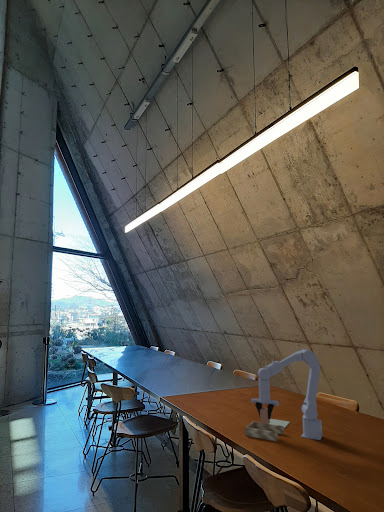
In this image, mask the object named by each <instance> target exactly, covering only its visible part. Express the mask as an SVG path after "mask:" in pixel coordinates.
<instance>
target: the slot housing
mask: <svg viewBox="0 0 384 512" xmlns="http://www.w3.org/2000/svg"><path fill="white" fill-rule="evenodd" d="M284 429H285V428H284V426H280V425H274V424H262V423H260V422H259V421H252V422H250V423H248V424H247V425H246V426H245V427H244V436H245V437H250V438H255V439H256V438H257V439H261V440H268V441H272V442H273V441H274V442H278V441H279V439H278V438H279V436H278V435H284V434H285V430H284Z"/></svg>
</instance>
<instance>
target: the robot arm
mask: <svg viewBox="0 0 384 512" xmlns="http://www.w3.org/2000/svg"><path fill="white" fill-rule="evenodd" d="M295 362H305V365H307V366H308V367H309V371H308V372H309V374H308V379H307V387H306V395H305V398H304V400H303V404H302V405H301V409H300V410H301V412H302V414H303V415H302V432H303V433H302V434H301V436H300V437H301V438H306V439H311V440H317V441H321V440H322V438H323V423H322V422H323V421H322V420H321V419H318V418H317V417H318V415H319V414H318V413H319V412H318V409H317V408H318V407H317V406H318V404H317V395H318V394H317V393H318V389H319V388H318V387H319V381H320V372H321V365H320V362H319V360H318V358H317V355H316V354H315V353H314V351H312V350H309V349H307V348H302V349H300V350H297V351H296V352H293V353H291V354H290V355H288V356H287V357H284V358H283V359H281V361H278V360H272V361H271V363H269V364H268V365H264V366H263V367H260V368H259V369H258V371H257V376H258V398H256V397H255V398H253V397H252V398H251V399H250V403H251V404H254V406H255V408H256V410H257V413H258V416H259V418H260V409H261V408H263V405H267V406H266V408H268V419H272V418H271V417H272V413H273V409H274V407H275V406H276V407H279V405H280V403H279V401H278V400H273V399H271V389H270V388H271V387H270V385H271V384H270V378H271V377H272V376H274V375H277V374H278V373H280V372H282V371H283V368H284V367H286V366H288V365H291V364H293V363H295Z"/></svg>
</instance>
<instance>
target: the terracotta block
mask: <svg viewBox="0 0 384 512" xmlns="http://www.w3.org/2000/svg"><path fill="white" fill-rule="evenodd" d="M259 421H260V423H262V424H269V423H270V419H268V408H267V407H262V408H261V409H260V417H259Z"/></svg>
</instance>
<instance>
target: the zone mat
mask: <svg viewBox="0 0 384 512" xmlns="http://www.w3.org/2000/svg"><path fill="white" fill-rule="evenodd" d="M290 423H291V421H287V420H282V419H276V418H271V419H270V423H269V424H274V425H280V426H284V429H286V427H288V425H290Z"/></svg>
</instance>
